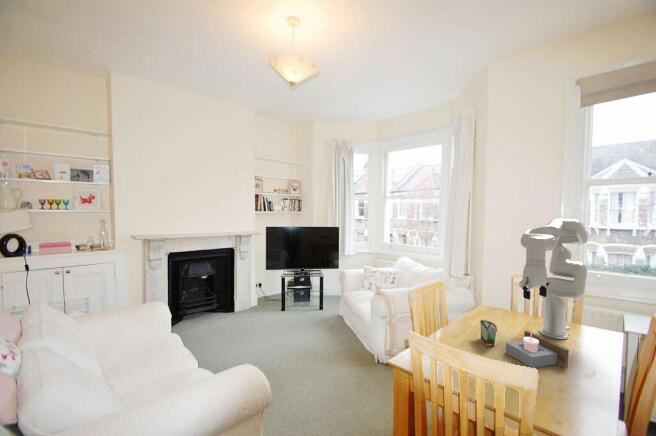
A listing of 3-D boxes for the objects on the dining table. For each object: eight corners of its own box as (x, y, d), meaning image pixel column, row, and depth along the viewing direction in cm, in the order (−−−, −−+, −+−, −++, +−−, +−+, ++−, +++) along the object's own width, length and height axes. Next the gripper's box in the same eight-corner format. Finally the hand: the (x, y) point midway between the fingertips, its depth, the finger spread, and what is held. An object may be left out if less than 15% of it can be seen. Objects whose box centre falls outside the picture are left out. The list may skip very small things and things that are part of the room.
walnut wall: (527, 346, 149) (527, 330, 148) (567, 367, 129) (568, 349, 129) (523, 346, 148) (524, 331, 148) (564, 367, 129) (565, 350, 128)
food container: (501, 349, 145) (501, 330, 144) (487, 348, 146) (488, 328, 146) (492, 338, 157) (492, 320, 156) (479, 337, 158) (480, 319, 158)
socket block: (528, 349, 145) (529, 339, 145) (557, 364, 132) (557, 353, 131) (505, 352, 142) (505, 342, 141) (532, 368, 128) (532, 357, 128)
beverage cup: (541, 362, 133) (542, 332, 132) (526, 361, 134) (527, 331, 134) (534, 355, 139) (535, 326, 138) (520, 354, 140) (521, 325, 140)
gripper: (542, 259, 145) (541, 292, 146) (514, 262, 141) (513, 297, 142) (557, 262, 138) (556, 297, 139) (528, 265, 134) (527, 302, 135)
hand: (534, 297), depth 141 cm, fingers open, 9 cm apart
